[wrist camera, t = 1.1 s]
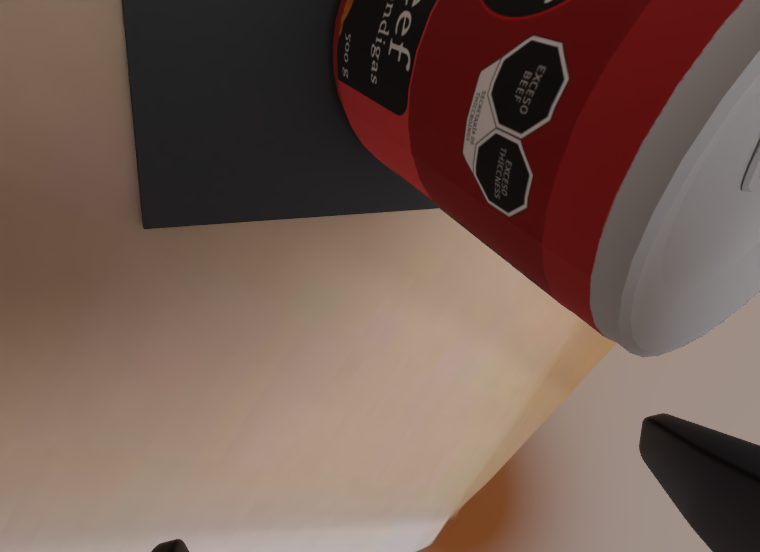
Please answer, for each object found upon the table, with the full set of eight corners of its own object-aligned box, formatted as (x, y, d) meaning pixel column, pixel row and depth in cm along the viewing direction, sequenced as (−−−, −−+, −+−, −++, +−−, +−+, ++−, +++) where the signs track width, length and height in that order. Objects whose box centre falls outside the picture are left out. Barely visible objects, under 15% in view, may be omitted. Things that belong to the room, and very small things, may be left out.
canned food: (482, -171, 13) (1114, -275, 5) (539, 75, 19) (874, 194, 11) (268, 13, 13) (595, 178, 5) (393, 202, 18) (631, 408, 11)
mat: (142, 226, 14) (143, 229, 14) (85, -398, 8) (86, -404, 8) (466, 204, 21) (468, 206, 21) (576, -148, 14) (581, -148, 14)
